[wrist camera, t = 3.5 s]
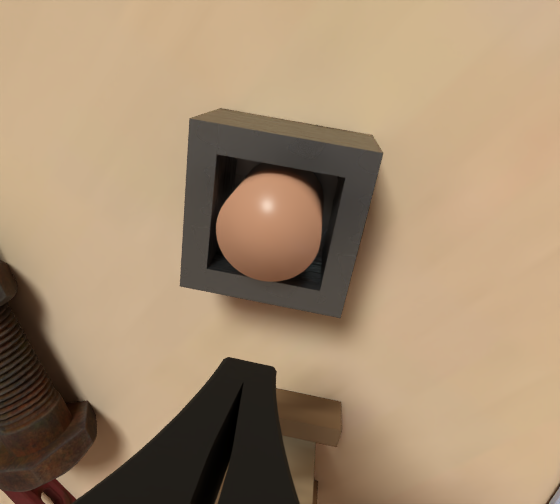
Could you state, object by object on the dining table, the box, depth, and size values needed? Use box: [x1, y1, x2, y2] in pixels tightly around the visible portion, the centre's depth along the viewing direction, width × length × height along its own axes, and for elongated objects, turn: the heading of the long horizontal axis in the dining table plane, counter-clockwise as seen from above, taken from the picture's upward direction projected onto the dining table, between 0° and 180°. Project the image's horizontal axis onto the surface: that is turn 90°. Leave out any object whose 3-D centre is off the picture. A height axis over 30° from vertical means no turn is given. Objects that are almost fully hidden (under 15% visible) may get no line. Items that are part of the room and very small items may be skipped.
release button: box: [216, 163, 324, 282], centre depth 16 cm, size 4×4×4 cm
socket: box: [215, 388, 342, 504], centre depth 23 cm, size 6×8×2 cm
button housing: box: [180, 108, 383, 318], centre depth 16 cm, size 6×6×4 cm
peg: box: [282, 436, 315, 504], centre depth 21 cm, size 4×4×7 cm
